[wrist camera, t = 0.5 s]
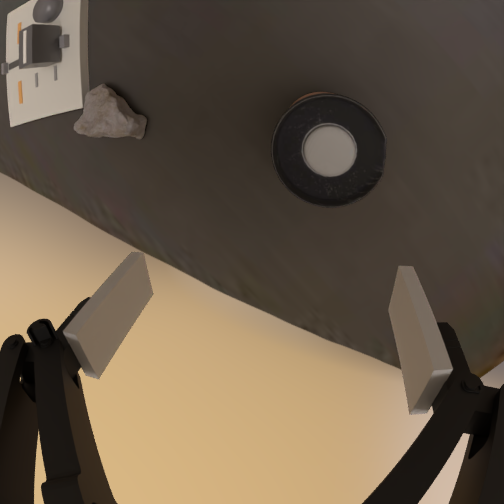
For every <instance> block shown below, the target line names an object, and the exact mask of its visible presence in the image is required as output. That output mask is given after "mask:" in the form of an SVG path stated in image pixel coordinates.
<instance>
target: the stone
mask: <svg viewBox="0 0 504 504" xmlns="http://www.w3.org/2000/svg"><path fill="white" fill-rule="evenodd" d="M146 122H147V119H146V117H144V116H143V115H137V114H135V113H134V112H133V111H132V109H130V108H129V105H128V104H127V102H126V101H125V100H124V99H123V98H122V97H120V96H118V95H116V92H114V91H113V90H112V89H111V88H109V87H107V86H106V85H105V84H101V85H99V86H98V87H96V88H94V89H92V90H91V91H89V92H88V93H87V94H86V96H85V104H84V110H83V115H82V116H81V117H80V119H79V120H78V121H77V122H76V123H75V124H74V130H75V131H77V133H79V134H85V135H87V136H89V137H97V138H99V137H102V136H105V137H115V138H118V137H126V136H132V137H136V138H137V139H142V138H143V136H144V134H145V127H146V124H147V123H146Z"/></svg>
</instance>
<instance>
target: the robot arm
mask: <svg viewBox="0 0 504 504" xmlns="http://www.w3.org/2000/svg"><path fill="white" fill-rule="evenodd" d="M152 295H153V291H152V287H151V283H150V278H149V275H148V270H147V266H146V262H145V257H144V253H141V252H131V253H130V254H129V255H128V257H127V258H126V259H125V260H124V261H123V262H122V263H121V264H120V265H119V266H118V267H117V268H116V270H115V271H114V272H113V273H112V274H111V275H110V276H109V277H108V279H107V280H106V281H105V282H104V283H103V284H102V285H101V286H100V288H99V289H98V290H97V291H96V292H95V294H94V295H93V296H92V297H88V298H86V299H85V300H83V301H82V302H80V303H79V304H78V306H77V307H76V308H75V309H74V311H72V313H71V314H70V316H68V317H67V319H66V320H65V321H64V322H63V323H62V324H61V326H60V327H59V328H58V329H57V330H56V331H55V329H54V327H53V325H52V323H51V321H50V320H48V319H39V320H37V321H35V322H33V323H32V324H31V325H30V326H29V327H28V329H27V334H28V336H29V338H30V339H31V341H32V342H28V343H26V342H25V340H24V338H23V337H22V336H21V335H20V334H15V335H12V336H10V337H8V338H7V339H6V340H5V341H4V343H3V345H2V347H1V350H0V504H34V478H35V477H34V476H35V460H36V449H37V439H38V430H39V435H40V443H41V449H42V456H43V461H44V467H45V472H46V479H47V480H46V482H44V483H42V485H41V491H42V496H43V501H44V504H117V503H116V501H115V499H114V497H113V495H112V492H111V489H110V487H109V484H108V481H107V478H106V475H105V472H104V469H103V466H102V463H101V460H100V456H99V453H98V450H97V446H96V443H95V439H94V435H93V432H92V428H91V424H90V420H89V416H88V412H87V408H86V404H85V399H84V394H83V389H82V384H81V380H80V376H79V374H78V371H79V369H80V368H82V369H83V371H84V373H85V375H86V376H90V377H93V378H96V379H99V378H100V376H101V375H102V373H103V371H104V370H105V368H106V367H107V365H108V363H109V362H110V360H111V359H112V357H113V355H114V354H115V352H116V351H117V349H118V347H119V346H120V344H121V343H122V341H123V340H124V338H125V337H126V335H127V333H128V332H129V330H130V329H131V327H132V326H133V324H134V323H135V321H136V319H137V318H138V316H139V315H140V313H141V312H142V310H143V309H144V307H145V306H146V304H147V303H148V301H149V300H150V298H151V297H152ZM388 311H389V315H390V319H391V323H392V328H393V332H394V336H395V341H396V345H397V350H398V354H399V359H400V364H401V369H402V374H403V379H404V384H405V390H406V396H407V401H408V407H409V414H411V415H412V414H425V413H427V412H428V410H429V409H430V407H431V406H432V407H433V412H434V414H433V415H432V417H431V418H430V420H429V421H428V423H427V424H426V426H425V427H424V428H423V430H422V431H421V433H420V434H419V436H418V437H417V438H416V440H415V441H414V442H413V444H412V445H411V447H410V448H409V449H408V450H407V452H406V453H405V454H404V456H403V457H402V458H401V460H400V461H399V462H398V463H397V464H396V466H395V467H394V468H393V469H392V471H391V472H390V473H389V474H388V475H387V476H386V478H385V479H384V480H383V481H382V482H381V483H380V485H379V486H378V487H377V488H376V489H375V490H374V491H373V492H372V493H371V495H370V496H369V497H368V498H367V499H366V500H365V501H364V502H363V503H362V504H418V502H419V501H420V500H421V498H422V497H423V496H424V494H425V493H426V492H427V490H428V489H429V487H430V486H431V484H432V483H433V482H434V480H435V478H436V477H437V475H438V474H439V473H440V471H441V470H442V468H443V466H444V465H445V463H446V462H447V460H448V458H449V457H450V455H451V453H452V452H453V450H454V448H455V447H456V445H457V443H458V441H459V440H460V437H461V436H462V434H463V433H466V434H470V436H469V440H468V444H467V448H466V452H465V455H464V459H463V463H462V466H461V469H460V472H459V476H458V479H457V482H456V485H455V488H454V491H453V493H452V496H451V499H450V501H449V504H504V384H503V385H502V386H501V388H500V389H497V388H493V387H488V386H484V385H483V383H482V381H481V380H480V378H479V377H477V376H476V375H475V374H472V373H471V372H470V370H469V367H468V364H467V361H466V359H465V356H464V353H463V351H462V348H461V346H460V343H459V341H458V338H457V336H456V333H455V331H454V329H453V328H452V327H451V326H450V325H449V324H448V323H447V322H441V323H436V320H435V318H434V315H433V312H432V310H431V308H430V305H429V303H428V300H427V298H426V295H425V293H424V291H423V288H422V286H421V284H420V281H419V279H418V277H417V275H416V272H415V270H414V268H413V266H398V271H397V276H396V280H395V284H394V289H393V293H392V297H391V301H390V305H389V309H388ZM20 377H21V381H20Z"/></svg>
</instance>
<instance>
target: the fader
mask: <svg viewBox="0 0 504 504" xmlns="http://www.w3.org/2000/svg"><path fill="white" fill-rule="evenodd" d="M59 36H60V26H58V25H44V24H32V25H30V26H28V27H26V28H24V29H22V30H20V31H19V69H27V68H37V67H47V66H50V65H53V64H55V63H58V62H60V48H59Z"/></svg>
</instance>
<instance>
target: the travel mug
mask: <svg viewBox="0 0 504 504" xmlns="http://www.w3.org/2000/svg"><path fill="white" fill-rule="evenodd" d="M386 144H387V138H386V135H385V133H384V131H383V128H382V127H381V125H380V123H379V122H378V120H377V119H376V118H375V116H374V115H373V114H372V113H371V112H370V111H369V110H368V109H367V108H366V107H364V106H363V105H362V104H360V103H359V102H357V101H355V100H353V99H351V98H349V97H346V96H342V95H338V94H334V93H329V92H313V93H309V94H306V95H304V96H302V97H300V98H299V99H297V100H296V101H295V102H294V103H293V104H292V105H291V106H290V107H289V108H288V109H287V111H286V112H285V113H284V114H283V115H282V117H281V118H280V120H279V121H278V123H277V125H276V127H275V130H274V133H273V137H272V142H271V157H272V162H273V165H274V168H275V171H276V173H277V175H278V177H279V179H280V180H281V182H282V183H283V185H284V186H285V187H286V188H287V189H288V190H289V191H290V192H291V193H292V194H293V195H295V196H296V197H297V198H299V199H301V200H302V201H304V202H306V203H309V204H312V205H315V206H319V207H326V208H336V207H343V206H347V205H350V204H353V203H355V202H357V201H359V200H361V199H362V198H364V197H365V196H367V195H368V194H369V193H370V192H371V191H372V190H373V189H374V188H375V187H376V186H377V185H378V183H379V182H380V181H381V179H382V177H383V174H384V165H385V157H386Z"/></svg>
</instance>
